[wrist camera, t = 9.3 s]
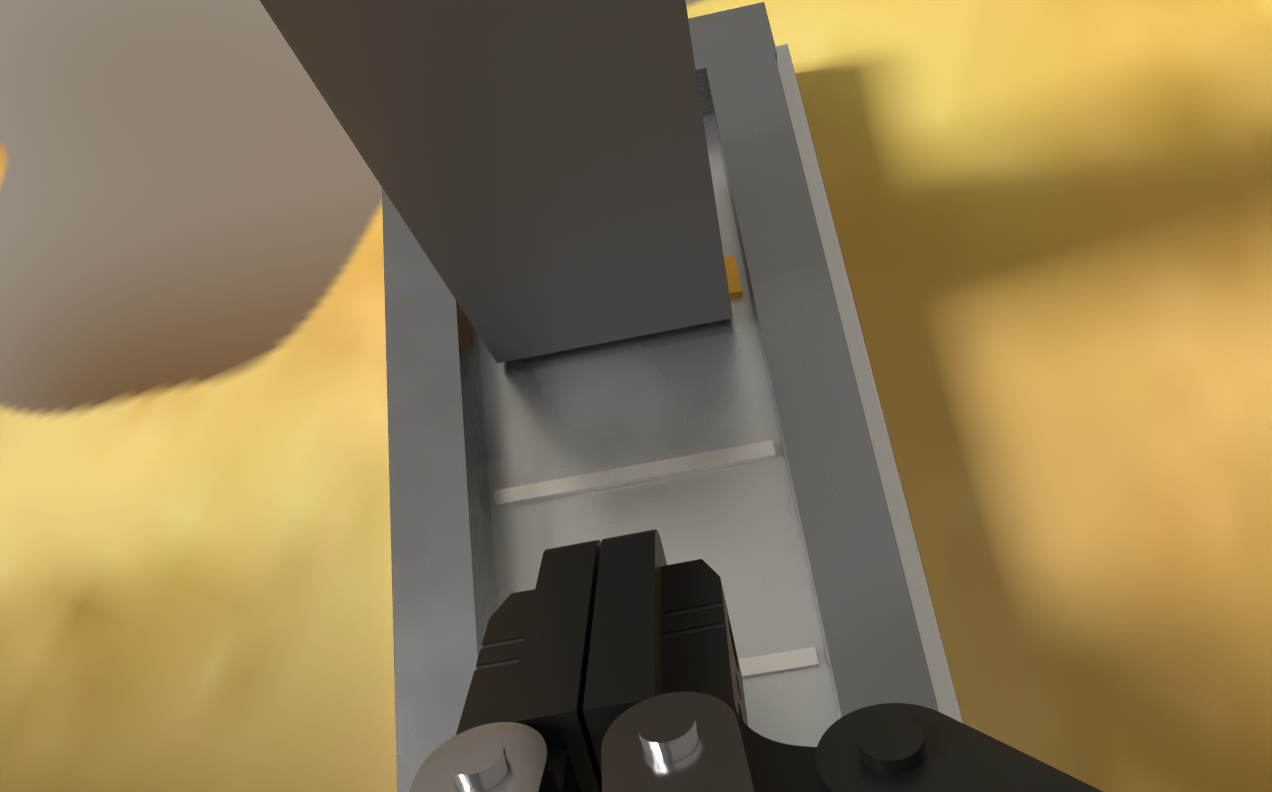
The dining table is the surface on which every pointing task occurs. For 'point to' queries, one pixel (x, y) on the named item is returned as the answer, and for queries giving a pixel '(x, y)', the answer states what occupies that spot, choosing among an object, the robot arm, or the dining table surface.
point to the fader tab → (533, 156)
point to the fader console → (670, 447)
